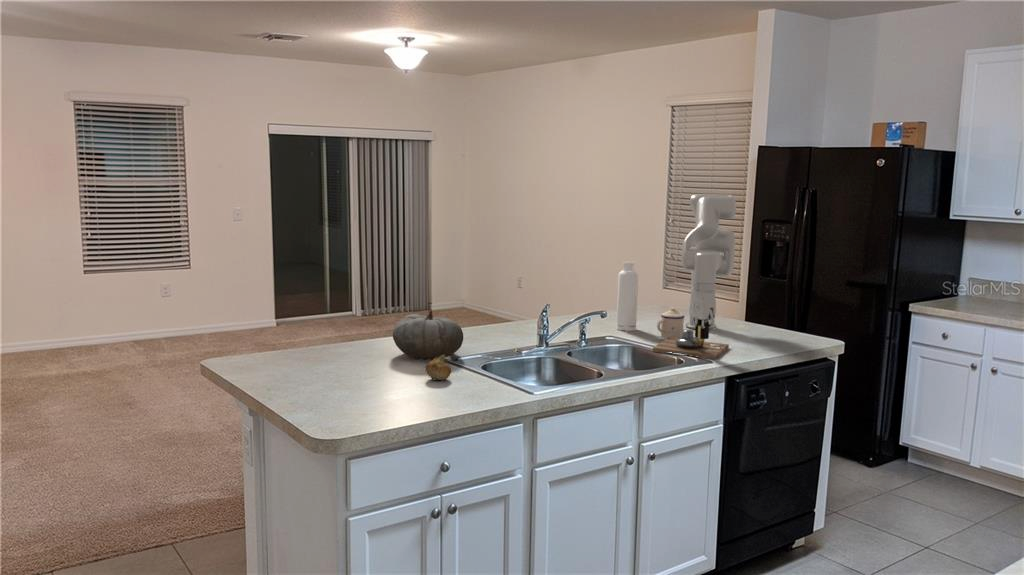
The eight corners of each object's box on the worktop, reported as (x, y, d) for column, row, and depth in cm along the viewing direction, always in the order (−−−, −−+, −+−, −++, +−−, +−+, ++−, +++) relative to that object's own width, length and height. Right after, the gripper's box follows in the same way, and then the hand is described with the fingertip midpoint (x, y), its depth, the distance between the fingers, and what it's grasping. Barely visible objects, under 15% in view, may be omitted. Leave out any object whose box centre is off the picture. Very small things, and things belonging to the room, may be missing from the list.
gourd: (406, 361, 261) (408, 308, 261) (379, 357, 282) (380, 308, 283) (474, 360, 273) (475, 310, 274) (443, 357, 295) (444, 310, 296)
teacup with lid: (672, 333, 322) (674, 305, 320) (688, 338, 314) (689, 309, 313) (649, 336, 316) (650, 307, 314) (664, 341, 308) (666, 311, 307)
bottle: (616, 326, 334) (618, 260, 330) (635, 327, 333) (638, 261, 329) (616, 330, 326) (618, 263, 322) (636, 331, 325) (638, 263, 321)
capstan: (670, 342, 297) (671, 319, 295) (695, 341, 299) (696, 318, 298) (689, 351, 283) (690, 327, 281) (714, 350, 285) (715, 325, 284)
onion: (427, 376, 253) (427, 351, 252) (452, 376, 253) (452, 352, 252) (424, 382, 246) (424, 357, 244) (449, 383, 245) (449, 358, 244)
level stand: (668, 341, 308) (668, 336, 308) (728, 348, 298) (728, 343, 297) (652, 351, 291) (653, 346, 290) (715, 359, 280) (716, 354, 280)
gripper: (682, 284, 288) (680, 334, 290) (708, 290, 273) (705, 343, 276) (700, 283, 290) (697, 333, 293) (727, 290, 276) (724, 341, 278)
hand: (701, 337), depth 284 cm, fingers closed on capstan, 2 cm apart
